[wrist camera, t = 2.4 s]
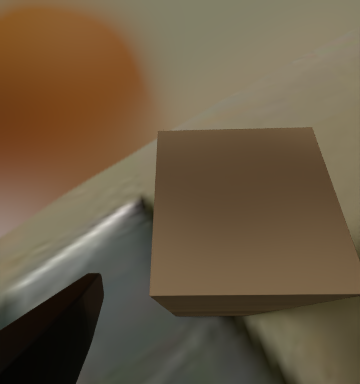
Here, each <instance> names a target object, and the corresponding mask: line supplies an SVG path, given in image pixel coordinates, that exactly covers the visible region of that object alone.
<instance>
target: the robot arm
mask: <svg viewBox="0 0 360 384" xmlns="http://www.w3.org/2000/svg"><path fill="white" fill-rule="evenodd" d="M103 298H104V291H103V283H102V277H101V274H100V273H88V274H86V275H85V276H83V277H81V278H80V279H78V280H77V281H75V282H74V283H72V284H71V285H69V286H68V287H66V288H64V289H63V290H61V291H60V292H58V293H57V294H55V295H54V296H52V297H51V298H49V299H47V300H46V301H44V302H43V303H41V304H40V305H38V306H37V307H35V308H34V309H32V310H30V311H29V312H27V313H26V314H24V315H23V316H21V317H20V318H18V319H17V320H15V321H13V322H12V323H10V324H9V325H7V326H6V327H4V328H3V329H1V330H0V384H76V382H77V379H78V377H79V374H80V372H81V369H82V366H83V364H84V361H85V359H86V356H87V354H88V351H89V348H90V345H91V342H92V339H93V335H94V332H95V328H96V325H97V321H98V317H99V314H100V310H101V306H102V303H103Z"/></svg>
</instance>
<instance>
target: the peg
mask: <svg viewBox="0 0 360 384" xmlns="http://www.w3.org/2000/svg"><path fill="white" fill-rule="evenodd" d="M150 296H151V297H152V298H153V299H154V300H156V301H157V302H158V303H159V304H161V305H162V306H163V307H165V308H166V309H167V310H168V311H170V312H171V313H172V314H174V315H175V316H247V315H253V314H259V313H265V312H270V311H276V310H282V309H287V308H293V307H299V306H305V305H310V304H316V303H322V302H328V301H333V300H339V299H345V298H350V297H356V296H360V261H359V258H358V255H357V252H356V249H355V247H354V244H353V241H352V238H351V235H350V232H349V230H348V227H347V224H346V221H345V218H344V216H343V213H342V210H341V207H340V204H339V202H338V199H337V196H336V193H335V190H334V188H333V185H332V182H331V179H330V176H329V174H328V171H327V168H326V165H325V162H324V160H323V157H322V154H321V151H320V148H319V146H318V143H317V140H316V137H315V134H314V131H313V129H312V127H306V128H265V129H224V130H183V131H158V140H157V160H156V179H155V199H154V218H153V238H152V257H151V277H150Z"/></svg>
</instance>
